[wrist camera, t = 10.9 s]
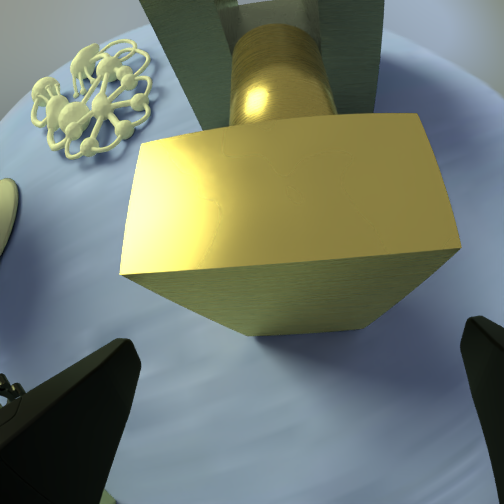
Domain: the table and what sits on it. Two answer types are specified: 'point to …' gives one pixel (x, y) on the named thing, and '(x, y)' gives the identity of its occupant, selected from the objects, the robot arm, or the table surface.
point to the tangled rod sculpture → (78, 114)
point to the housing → (257, 14)
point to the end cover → (288, 203)
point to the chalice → (7, 209)
